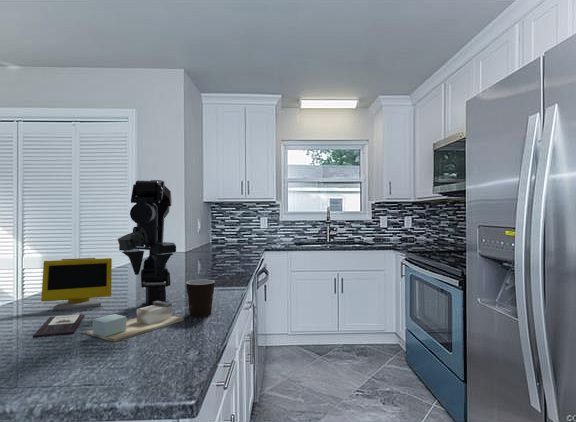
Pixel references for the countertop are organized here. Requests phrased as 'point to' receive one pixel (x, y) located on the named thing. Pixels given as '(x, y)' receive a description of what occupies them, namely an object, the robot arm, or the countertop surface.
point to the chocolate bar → (59, 326)
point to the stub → (109, 325)
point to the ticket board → (137, 328)
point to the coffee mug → (200, 297)
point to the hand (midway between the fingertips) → (147, 276)
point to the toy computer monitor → (76, 282)
